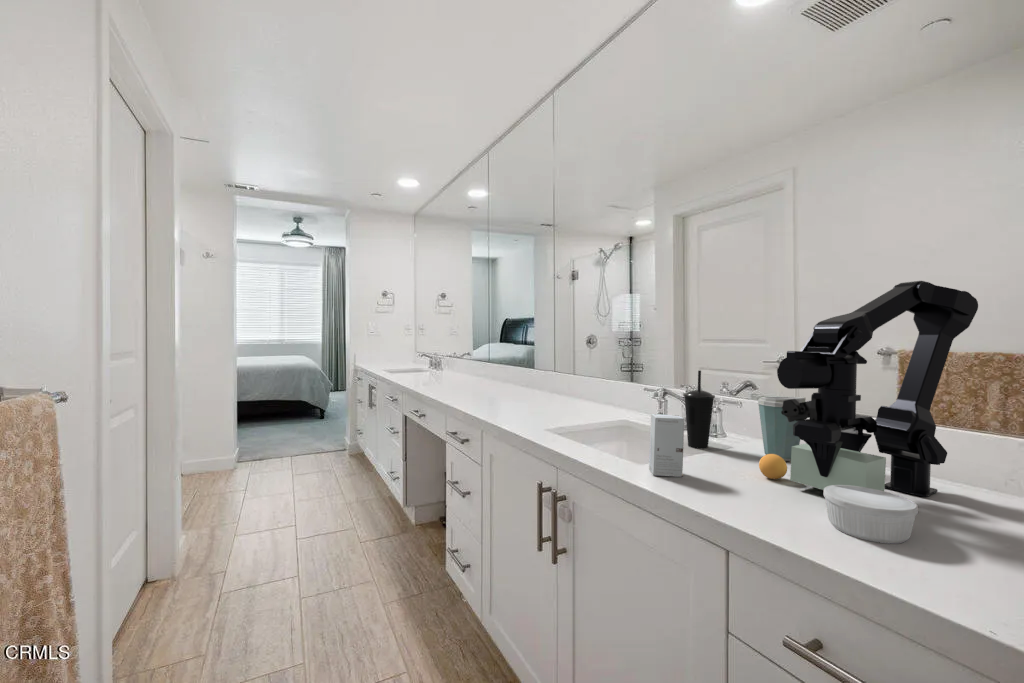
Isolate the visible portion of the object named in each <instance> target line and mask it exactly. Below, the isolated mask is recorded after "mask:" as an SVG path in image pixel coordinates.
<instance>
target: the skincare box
mask: <svg viewBox="0 0 1024 683" xmlns="http://www.w3.org/2000/svg"><path fill="white" fill-rule="evenodd" d="M649 429H650V431H649V457H648V458H649V461H648V463H649V464H648V470H649V472H650V473H651V475H652V476H653V477H654V476H655V477H656V476H661V477H676V478H677V477H678V478H680V477H681V478H682V477H683V470H684V469H683V468H684V466H683V465H684V440H685V439H684V437H685V436H684V435H685V418H684V417H682V416H680V415H677V414H658V413H657V414H656V413H650V428H649Z"/></svg>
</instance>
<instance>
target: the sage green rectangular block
mask: <svg viewBox="0 0 1024 683" xmlns="http://www.w3.org/2000/svg"><path fill="white" fill-rule="evenodd" d="M886 464H887V457H886V456H879V455H876V454H871V453H865V452H857V451H852V450H847V449H843V448H840V450H839V452H838V454H837V457H836V459H835V462H834V464H833V467H832V469H831V471H830V473H829V476H828V477H823V476H821V475H820V473H819V470H818V467H817V464H816V461H815V458H814V455H813V452H812V450H811V447H810V446H809V445H808V444H807V443H806V442H805V443H802V444H801V443H800V444H799V445H796V446H792V450H791V461H790V475H789V481H791V482H795V483H797V484H798V483H799V484H802V485H805V486H808V487H812V488H816V489H819V490H822V491H824V488H825V487H827V486H831V485H850V486H859V487H865V488H871V489H876V490H881V491H885V489H886V488H885V484H886V466H887V465H886Z"/></svg>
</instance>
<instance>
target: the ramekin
mask: <svg viewBox="0 0 1024 683" xmlns="http://www.w3.org/2000/svg"><path fill="white" fill-rule="evenodd" d="M823 497H824V498H825V500H824V501H825V507H826V513H827V519H828V521H829V523H830V524H831V525H832V526H833V527H834V528H835V529H837V530H838V531H840V532H842V533H844V534H846V535H849V536H852V537H855V538H857V539H861V540H864V541H869V542H875V543H879V542H880V543H879V544H890V543H891V544H901V543H905V542H906V541H907V540H909V539H910V537H911V535H912V533H913V528H914V524H915V519H916V515H918V513H919V506H918V504H917V503H916V502H915V501H912V500H911V499H908V498H907V497H904V496H900V495H899V494H895V493H892V492H888V491H885V490H884V491H881V490H876V489H871V488H865V487H859V486H850V485H831V486H827V487H825V488H824V490H823Z"/></svg>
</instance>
